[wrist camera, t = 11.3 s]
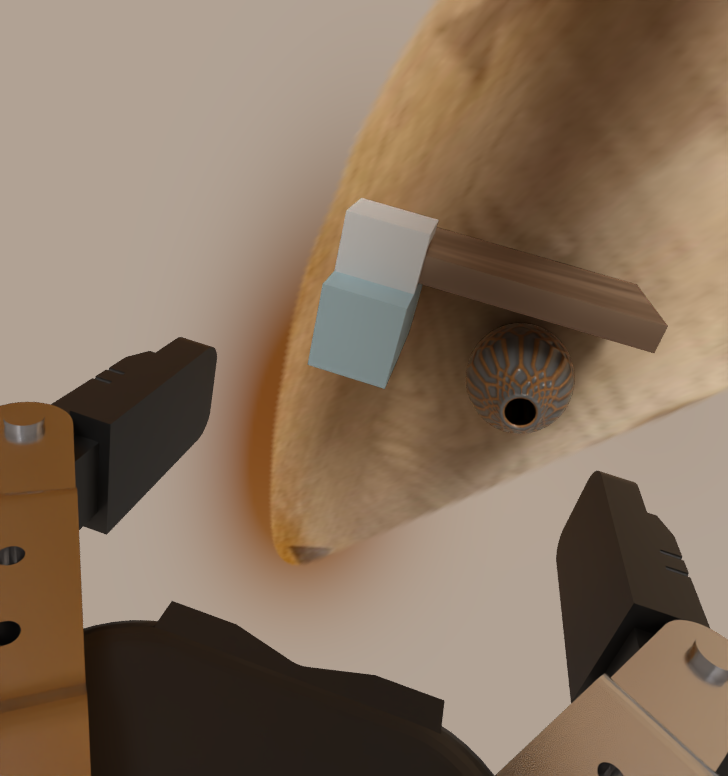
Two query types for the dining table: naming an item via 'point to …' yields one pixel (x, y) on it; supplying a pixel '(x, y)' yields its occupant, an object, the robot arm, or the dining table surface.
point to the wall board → (542, 289)
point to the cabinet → (371, 292)
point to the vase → (520, 378)
